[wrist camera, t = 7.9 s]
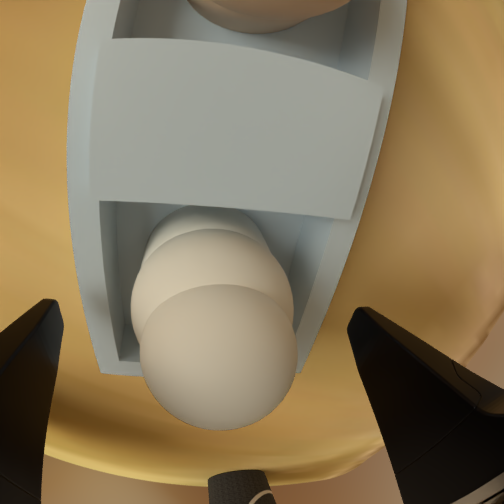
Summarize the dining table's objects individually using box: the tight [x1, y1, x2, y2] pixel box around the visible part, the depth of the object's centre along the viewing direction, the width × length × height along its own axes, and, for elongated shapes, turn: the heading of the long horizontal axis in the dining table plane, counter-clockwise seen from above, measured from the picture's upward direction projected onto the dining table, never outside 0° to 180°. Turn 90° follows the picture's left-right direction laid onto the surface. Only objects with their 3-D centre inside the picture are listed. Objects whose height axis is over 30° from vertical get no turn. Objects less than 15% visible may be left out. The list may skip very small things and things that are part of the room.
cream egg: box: [131, 205, 298, 430], centre depth 8 cm, size 5×5×6 cm
